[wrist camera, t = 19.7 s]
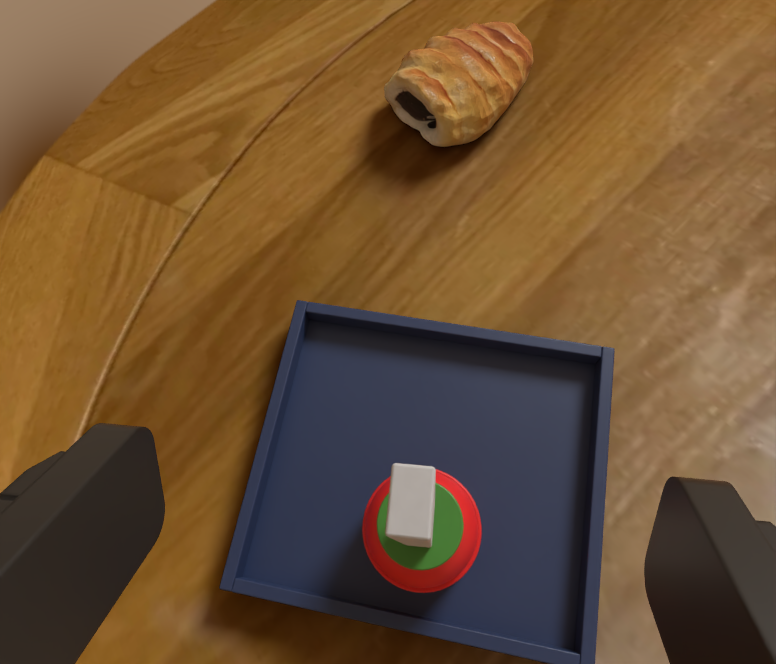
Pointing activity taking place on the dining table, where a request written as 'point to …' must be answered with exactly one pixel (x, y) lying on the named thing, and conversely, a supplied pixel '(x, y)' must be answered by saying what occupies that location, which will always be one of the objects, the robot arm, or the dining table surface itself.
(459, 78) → the pastry
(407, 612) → the tray
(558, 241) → the dining table surface
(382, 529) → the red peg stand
